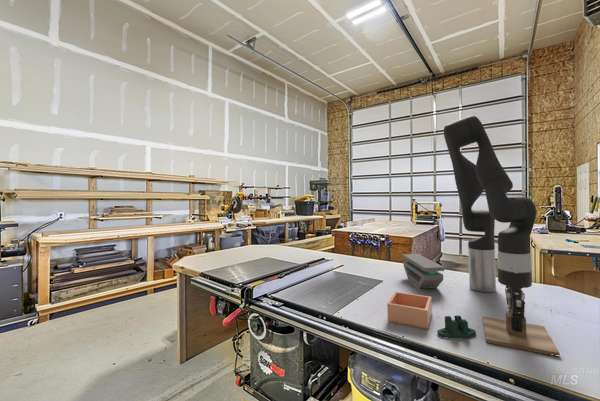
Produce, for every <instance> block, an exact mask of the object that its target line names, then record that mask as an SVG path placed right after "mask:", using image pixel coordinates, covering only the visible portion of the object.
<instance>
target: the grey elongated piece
mask: <svg viewBox="0 0 600 401" xmlns="http://www.w3.org/2000/svg"><path fill="white" fill-rule="evenodd" d="M401 257H402V258H403V259H404V260H405V261H403V268H404V271H405V275H406V277H407V280H408V281H409V282H410V283H411V284H412V285H413V286H414V287H417V289H438V287H439V286H440V284H441V283H442V282H443V281H444V274H443V273H442V272H445V267H444V266H443V265H441V264H439V263H437V262H435V261H434V260H431V259H429V258H427V257H426V256H423V255H422V254H419V253H405V254H401Z"/></svg>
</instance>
